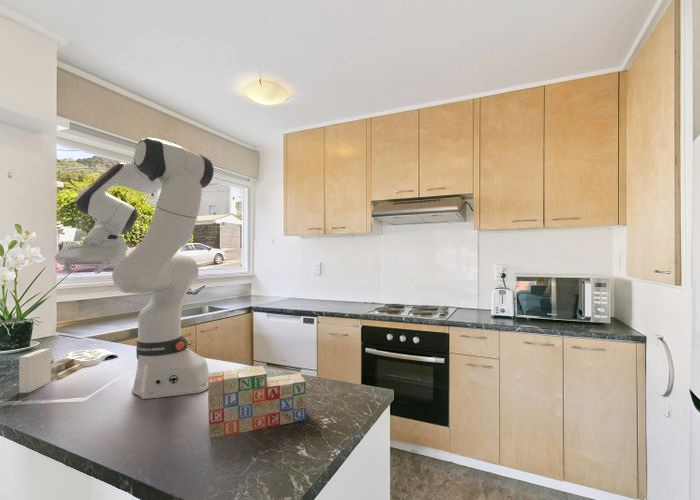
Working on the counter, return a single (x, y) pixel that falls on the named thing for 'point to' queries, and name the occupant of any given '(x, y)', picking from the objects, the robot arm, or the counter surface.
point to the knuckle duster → (89, 356)
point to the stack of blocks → (253, 400)
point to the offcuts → (61, 366)
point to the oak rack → (68, 371)
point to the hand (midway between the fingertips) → (81, 272)
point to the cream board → (34, 370)
